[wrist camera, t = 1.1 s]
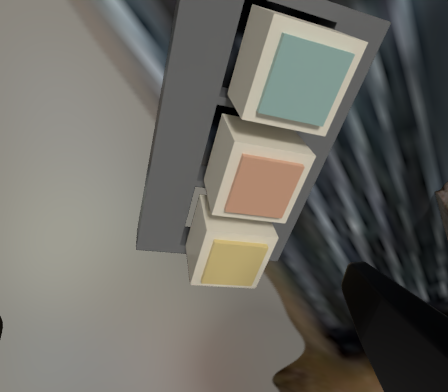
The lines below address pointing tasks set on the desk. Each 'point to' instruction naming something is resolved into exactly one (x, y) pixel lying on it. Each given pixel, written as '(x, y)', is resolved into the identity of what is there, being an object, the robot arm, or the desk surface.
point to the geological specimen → (443, 205)
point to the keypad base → (217, 95)
